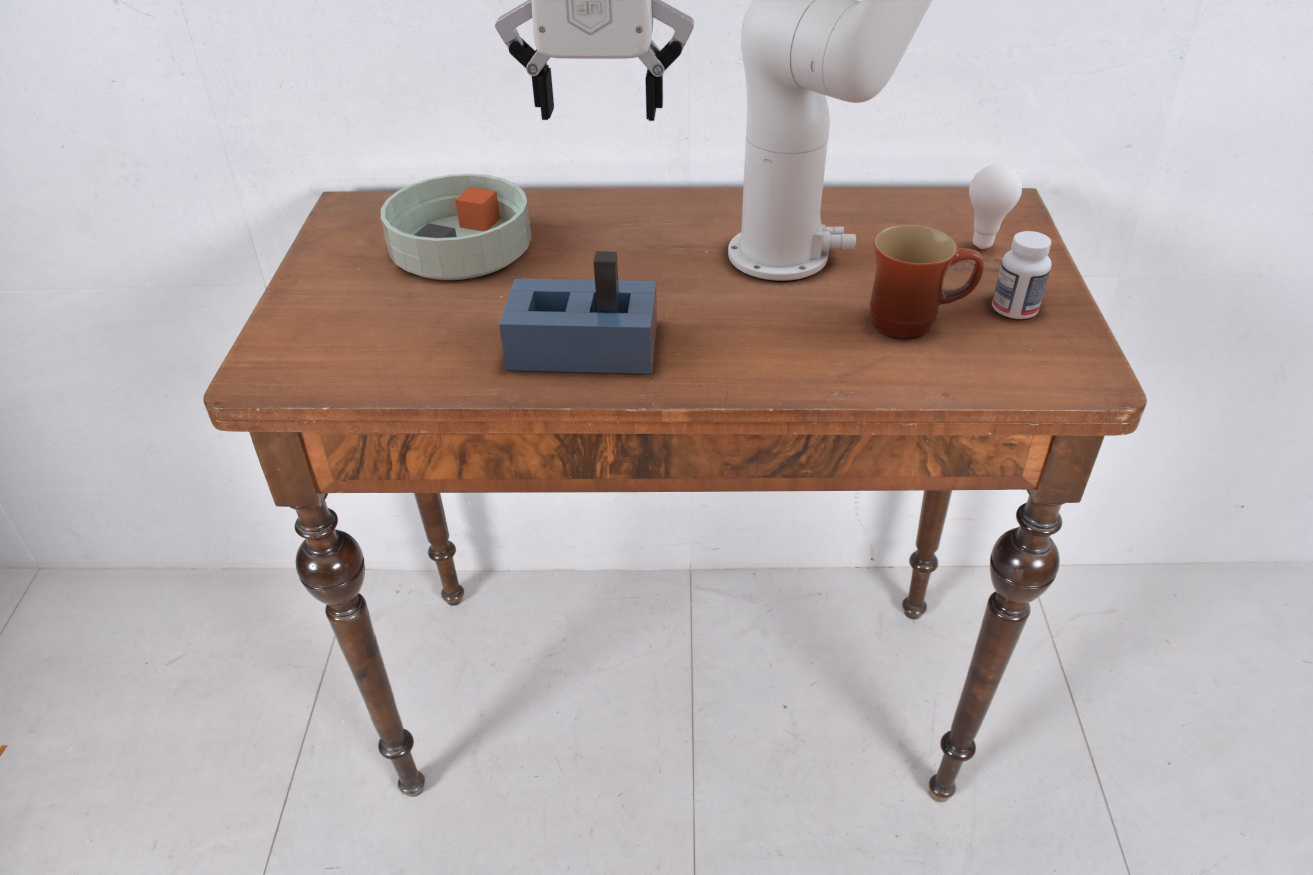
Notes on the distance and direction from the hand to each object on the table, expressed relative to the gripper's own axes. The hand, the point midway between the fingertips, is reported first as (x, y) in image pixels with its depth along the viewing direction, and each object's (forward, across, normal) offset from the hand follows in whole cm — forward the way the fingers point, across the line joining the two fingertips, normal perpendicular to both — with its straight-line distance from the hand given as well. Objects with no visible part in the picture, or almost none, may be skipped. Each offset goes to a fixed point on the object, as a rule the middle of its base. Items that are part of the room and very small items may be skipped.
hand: (599, 115), depth 86 cm
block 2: (+26, -21, +27) cm, 43 cm away
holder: (+26, -3, 0) cm, 27 cm away
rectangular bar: (+26, 0, -1) cm, 26 cm away
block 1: (+26, -24, +17) cm, 39 cm away
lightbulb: (+26, +45, +24) cm, 57 cm away
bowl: (+26, -22, +22) cm, 41 cm away
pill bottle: (+26, +46, +10) cm, 54 cm away
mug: (+26, +34, +6) cm, 43 cm away
